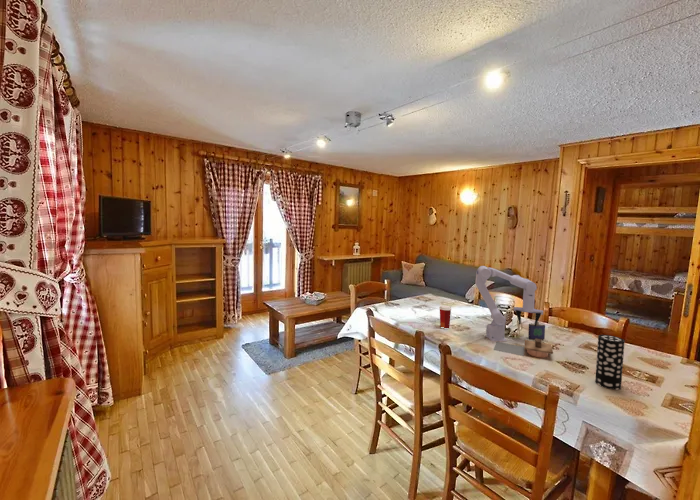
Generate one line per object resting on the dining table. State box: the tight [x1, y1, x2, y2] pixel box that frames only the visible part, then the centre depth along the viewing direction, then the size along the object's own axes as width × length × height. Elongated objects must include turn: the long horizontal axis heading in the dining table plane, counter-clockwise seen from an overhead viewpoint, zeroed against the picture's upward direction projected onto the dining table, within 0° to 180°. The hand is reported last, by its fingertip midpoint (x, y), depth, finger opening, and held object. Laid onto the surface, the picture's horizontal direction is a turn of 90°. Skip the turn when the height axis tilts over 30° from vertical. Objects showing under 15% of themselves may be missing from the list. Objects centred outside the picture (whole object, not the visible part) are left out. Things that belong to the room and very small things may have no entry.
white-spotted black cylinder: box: [594, 334, 625, 391], centre depth 127 cm, size 8×8×20 cm
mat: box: [493, 341, 526, 357], centre depth 164 cm, size 14×14×1 cm
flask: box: [527, 320, 546, 341], centre depth 179 cm, size 9×3×11 cm, turn 88°
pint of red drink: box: [438, 304, 452, 329], centre depth 198 cm, size 8×8×14 cm
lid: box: [524, 338, 554, 355], centre depth 157 cm, size 12×12×4 cm
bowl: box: [526, 349, 549, 359], centre depth 157 cm, size 9×9×4 cm
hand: (527, 324), depth 175 cm, fingers open, 7 cm apart
